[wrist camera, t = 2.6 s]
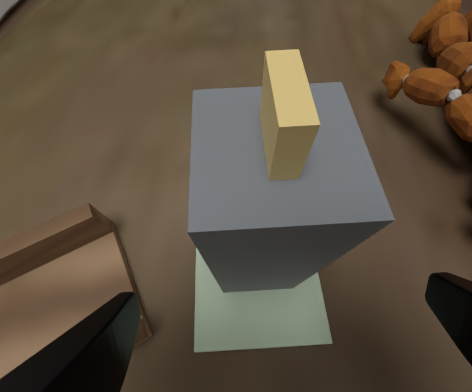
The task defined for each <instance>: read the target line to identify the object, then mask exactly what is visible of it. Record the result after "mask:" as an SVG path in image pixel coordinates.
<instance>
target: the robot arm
mask: <svg viewBox="0 0 472 392" xmlns="http://www.w3.org/2000/svg"><path fill="white" fill-rule="evenodd" d="M425 299H426V302H427V304H428V305H429V307H430V308H431V310H432V311H433V313H434V314H435V315H436V317H437V318H438V320H439V321H440V323H441V324H442V326H443V327H444V328H445V330H446V331H447V333H448V334H449V336H450V337H451V339H452V340H453V342H454V343H455V344H456V346H457V347H458V349H459V350H460V351H461V353H462V354H463V355H464V357H465V358H466V359H467V361H468V362H469V363H470V364H471V366H472V281H470V280H467V279H464V278H461V277H459V276H456V275H453V274H450V273H447V272H440V273H432V274H431V275H430V276H429V279H428V284H427V288H426V293H425ZM140 319H141V313H140V308H139V303H138V299H137V295H136V293H135V292H134V291H129V292H121V293H119V294H117V295H116V296H115V297H113V298H112V299H111V300H109V301H108V302H106V303H105V304H104V305H102V306H101V307H99V308H98V309H97V310H95V311H94V312H92V313H91V314H90V315H88V316H87V317H86V318H84V319H83V320H81V321H80V322H79V323H77V324H76V325H74V326H73V327H72V328H70V329H69V330H67V331H66V332H65V333H63V334H62V335H61V336H59V337H58V338H56V339H55V340H54V341H52V342H51V343H49V344H48V345H47V346H45V347H44V348H42V349H41V350H40V351H38V352H37V353H35V354H34V355H33V356H31V357H30V358H28V359H27V360H26V361H24V362H23V363H22V364H20V365H19V366H17V367H16V368H15V369H13V370H12V371H10V372H9V373H8V374H6V375H5V376H3V377H2V378H1V379H0V392H120V390H121V387H122V384H123V382H124V379H125V376H126V372H127V369H128V365H129V361H130V358H131V354H132V350H133V346H134V343H135V339H136V335H137V331H138V327H139V324H140Z"/></svg>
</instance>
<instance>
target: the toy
mask: <svg viewBox="0 0 472 392" xmlns="http://www.w3.org/2000/svg"><path fill="white" fill-rule="evenodd" d="M461 1H462V0H440V1H439V2H438V3H437V4H435V5H434V6H433V7H432V9H431V10H430V11H429V12H428V13H427V14H426V15H425V16H424V17H423V18H422V19H421V20H420V22H419V23H418V25H417V26H416V28H415V29H414V30H413V32H412V33H411V35H410V37H409V39H410V41H411V42H412V43H417V42H419V41H420V40H421V42H422V43H423V44H427V43H428V51H429V53H430V54H431V56H432V58H436V59H437V62H436V68H424V67H423V68H420V69H417V70H414V71H412V72H411V73H410V67H409V66H408V65H406V64H405V63H403V62H400V61H393V62H391V64H390V66H389V68H388V70H387V72H386V74H385V77H384V79H383V80H382V83H384V85H385V86H386V87H387V88H388V90H387V96H388V97H389V98H390V99H393V98H394V97H396V95H397V93H398V92H399V91H400V89H401V88H403V91H404V93H405V95H406V96H407V97H409V98H410V99H412V100H413V101H415V102H416V103H419V104H424V105H430V106H436V107H437V106H443V105H445V104H446V103H448V102H449V101H450V103H449V104H447V105H446V106H445V117H446V121H447V122H448V124H449V125H450V126H451V127H452V128H453V129H454V130H455V132H456V133H457V134H458V135H459V136H460V137H461V138H462V139H464V140H466V141H469V142H471V143H472V10H471V11H470V12H468V13H467V14H466V15H465V16H463V15H462V14H461V13H459V11H460V6H461ZM409 73H410V74H409Z"/></svg>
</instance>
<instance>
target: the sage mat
mask: <svg viewBox="0 0 472 392" xmlns="http://www.w3.org/2000/svg"><path fill="white" fill-rule="evenodd" d="M320 344H333V343H332V338H331V333H330V328H329V324H328V319H327V314H326V309H325V304H324V299H323V294H322V290H321V285H320V280H319V275H318V272H317V273H315V274H314V275H312V276H311V277H309V278H308V279H306V280H305V281H303V282H302V283H300V284H299V285H297V286H296V287H294V288H292V289H276V290H259V291H243V292H227V293H223V291H222V290H221V288H220V286H219V285H218V283H217V281H216V280H215V278H214V276H213V275H212V273H211V271H210V269H209V268H208V266H207V264H206V263H205V261H204V259H203V258H202V256H201V254H200V253H199V251H198V249H197V247H196V281H195V329H194V353H195V352H211V351H226V350H242V349H258V348H273V347H289V346H305V345H320Z"/></svg>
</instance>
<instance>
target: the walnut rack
mask: <svg viewBox="0 0 472 392" xmlns="http://www.w3.org/2000/svg"><path fill="white" fill-rule="evenodd" d="M129 291H134V292H135V293H136V295H137V299H138V303H139V308H140V313H141V319H140V324H139V327H138V331H137V335H136V339H135V343H134V346H133V347H135V346H137V345H138V344H140V343H142V342H143V341H145V340H147V339H148V338H150V337H152V333H151V330H150V327H149V324H148V321H147V319H146V316H145V313H144V310H143V307H142V304H141V301H140V298H139V295H138V292H137V289H136V286H135V284H134V281H133V278H132V275H131V272H130V269H129V266H128V263H127V260H126V257H125V254H124V252H123V249H122V246H121V243H120V240H119V237H118V234H117V231H116V228H115V225H114V223H113V222H112V221H111V220H109V219H108V218H107V217H106V216H104V215H103V214H102V213H101V212H99V211H98V210H97V209H95V208H94V207H93V206H92V205H90V204H89V203H87V204H85V205H82V206H80V207H78V208H76V209H73V210H71V211H69V212H67V213H64V214H62V215H60V216H58V217H55V218H53V219H51V220H49V221H46V222H44V223H42V224H40V225H37V226H35V227H33V228H31V229H28V230H26V231H24V232H22V233H19V234H17V235H15V236H13V237H11V238H8V239H6V240H4V241H2V242H0V379H1V378H2V377H3V376H5V375H6V374H8V373H9V372H10V371H12V370H13V369H15V368H16V367H17V366H19V365H20V364H22V363H23V362H24V361H26V360H27V359H28V358H30V357H31V356H33V355H34V354H35V353H37V352H38V351H40V350H41V349H42V348H44V347H45V346H47V345H48V344H49V343H51V342H52V341H54V340H55V339H56V338H58V337H59V336H61V335H62V334H63V333H65V332H66V331H67V330H69V329H70V328H72V327H73V326H74V325H76V324H77V323H79V322H80V321H81V320H83V319H84V318H86V317H87V316H88V315H90V314H91V313H92V312H94V311H95V310H97V309H98V308H99V307H101V306H102V305H104V304H105V303H106V302H108V301H109V300H111V299H112V298H113V297H115V296H116V295H117V294H119V293H121V292H129Z"/></svg>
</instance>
